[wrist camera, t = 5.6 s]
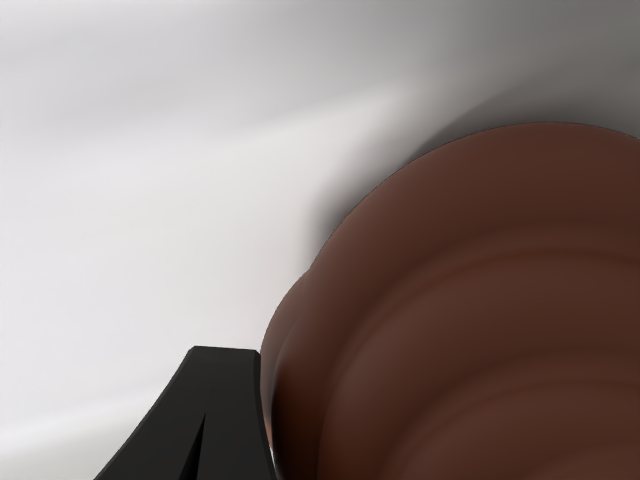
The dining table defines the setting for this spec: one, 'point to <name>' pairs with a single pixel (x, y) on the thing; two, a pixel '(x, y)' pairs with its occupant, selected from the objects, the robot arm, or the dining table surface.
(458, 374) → the poop emoji
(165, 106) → the dining table surface
